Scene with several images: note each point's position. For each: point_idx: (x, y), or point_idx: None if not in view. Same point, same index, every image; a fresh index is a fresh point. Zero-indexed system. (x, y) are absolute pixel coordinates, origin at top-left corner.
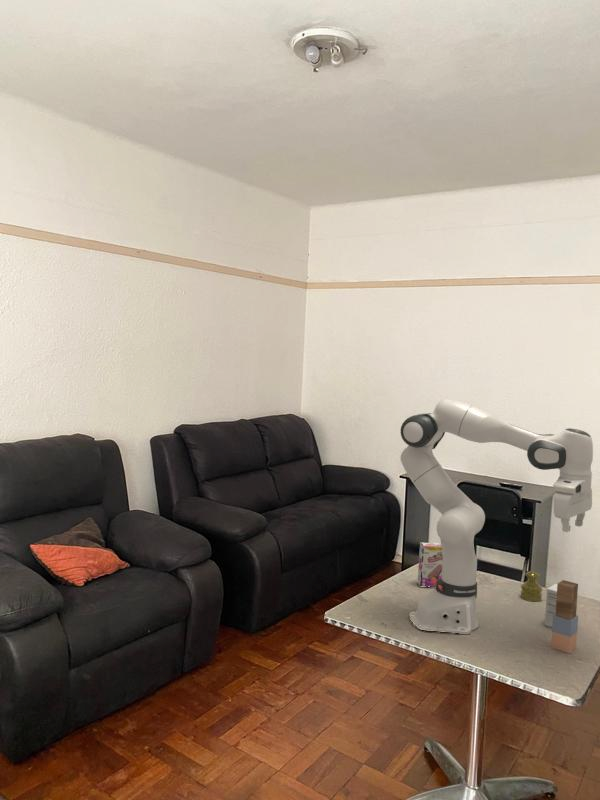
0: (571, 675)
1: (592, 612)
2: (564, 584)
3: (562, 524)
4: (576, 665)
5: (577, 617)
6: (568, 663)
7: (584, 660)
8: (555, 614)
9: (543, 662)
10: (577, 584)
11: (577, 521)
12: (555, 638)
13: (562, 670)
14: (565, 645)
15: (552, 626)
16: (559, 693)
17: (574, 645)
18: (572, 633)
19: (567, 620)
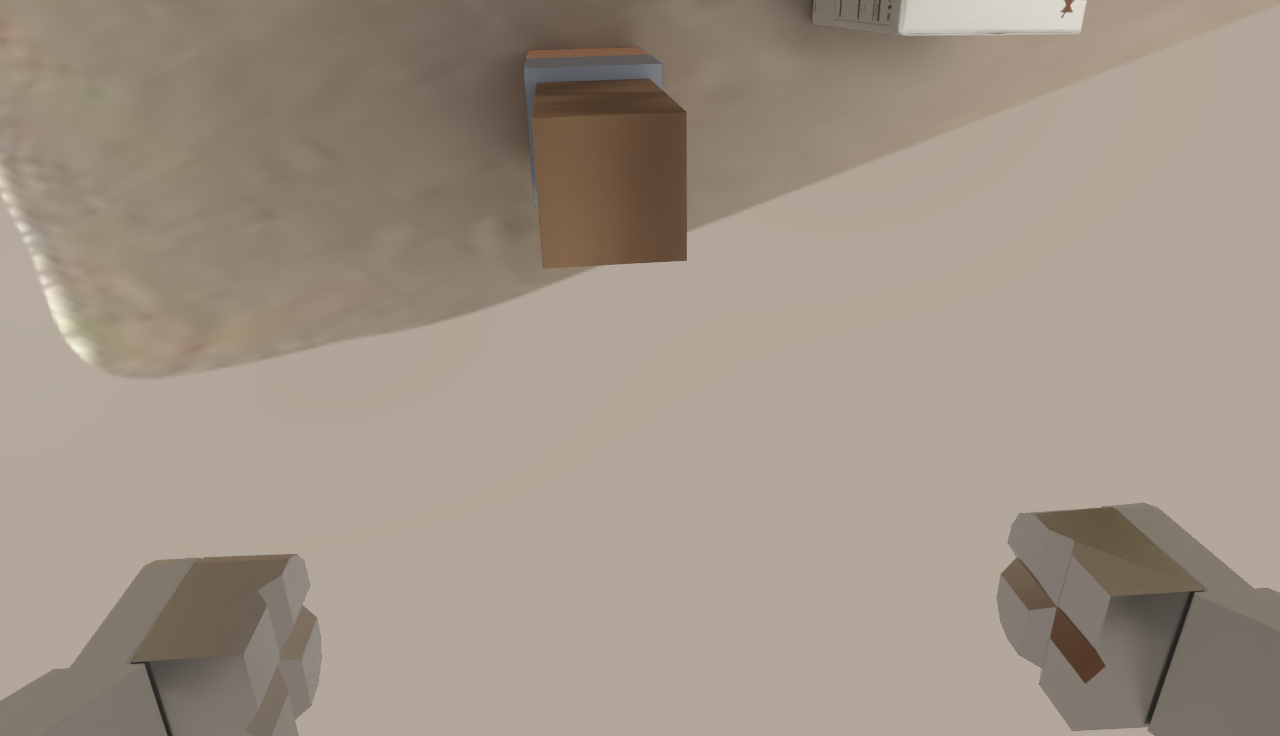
0: (300, 275)
1: (1248, 10)
2: (562, 180)
3: (14, 705)
4: (428, 247)
5: None
6: (414, 210)
7: (520, 251)
8: (555, 73)
9: (301, 110)
10: (670, 260)
11: (1078, 633)
12: None
13: (309, 223)
14: None
15: (526, 61)
16: (73, 313)
17: None
18: None
19: (532, 178)
